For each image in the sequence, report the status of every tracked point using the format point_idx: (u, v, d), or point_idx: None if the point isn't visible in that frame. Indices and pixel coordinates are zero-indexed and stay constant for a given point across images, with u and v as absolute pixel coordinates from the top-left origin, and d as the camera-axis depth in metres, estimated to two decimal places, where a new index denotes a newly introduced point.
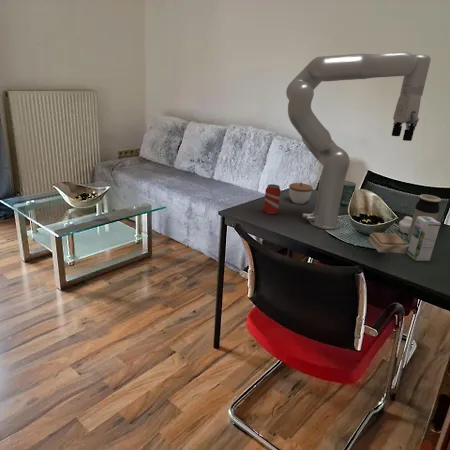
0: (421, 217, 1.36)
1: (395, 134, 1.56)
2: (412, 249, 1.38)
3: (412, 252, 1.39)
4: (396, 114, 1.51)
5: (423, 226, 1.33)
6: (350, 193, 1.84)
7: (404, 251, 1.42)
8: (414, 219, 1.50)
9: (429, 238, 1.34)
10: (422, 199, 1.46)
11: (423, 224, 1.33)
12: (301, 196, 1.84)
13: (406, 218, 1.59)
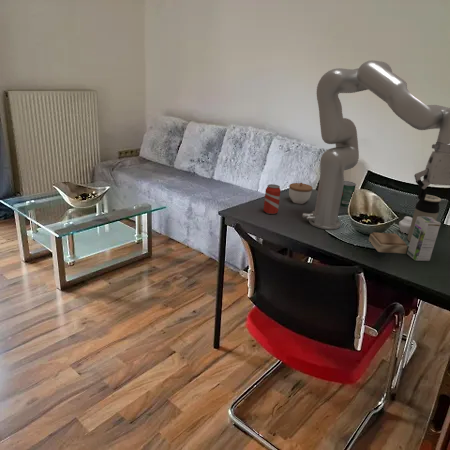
0: (421, 217, 1.36)
1: None
2: (412, 249, 1.38)
3: (412, 252, 1.39)
4: (439, 177, 1.26)
5: (423, 226, 1.33)
6: (350, 193, 1.84)
7: (404, 251, 1.42)
8: (414, 219, 1.50)
9: (429, 238, 1.34)
10: None
11: (423, 224, 1.33)
12: (301, 196, 1.84)
13: (406, 218, 1.59)
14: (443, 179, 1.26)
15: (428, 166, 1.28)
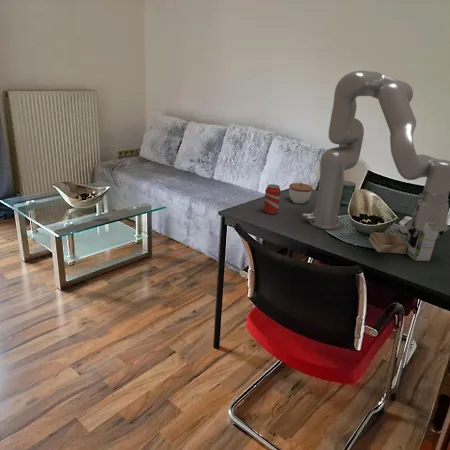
0: None
1: None
2: (412, 249, 1.38)
3: (412, 252, 1.39)
4: None
5: (424, 226, 1.33)
6: (350, 193, 1.84)
7: (404, 251, 1.42)
8: None
9: (429, 238, 1.34)
10: None
11: None
12: (301, 196, 1.84)
13: (406, 218, 1.59)
14: None
15: (415, 213, 1.34)
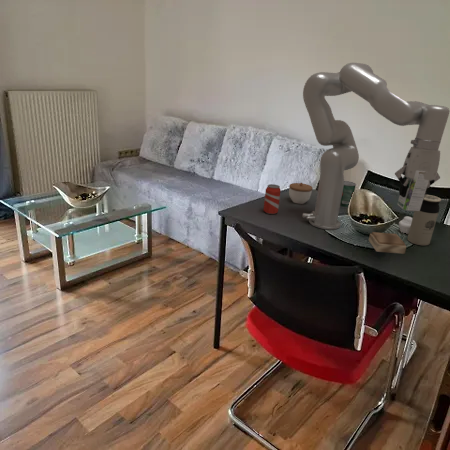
0: None
1: None
2: (403, 199, 1.37)
3: (402, 202, 1.37)
4: None
5: None
6: (350, 193, 1.84)
7: (403, 251, 1.42)
8: (414, 219, 1.50)
9: (419, 187, 1.33)
10: None
11: None
12: (302, 196, 1.84)
13: (406, 218, 1.59)
14: None
15: (406, 161, 1.32)
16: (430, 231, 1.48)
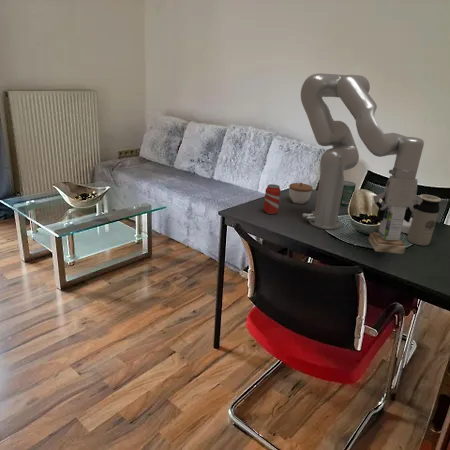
0: None
1: None
2: (382, 229, 1.44)
3: (382, 233, 1.45)
4: (395, 200, 1.37)
5: (391, 207, 1.39)
6: (350, 193, 1.84)
7: (402, 252, 1.42)
8: (414, 219, 1.50)
9: (397, 218, 1.40)
10: (422, 199, 1.46)
11: None
12: (301, 196, 1.84)
13: None
14: (399, 202, 1.38)
15: (386, 189, 1.39)
16: (430, 231, 1.48)
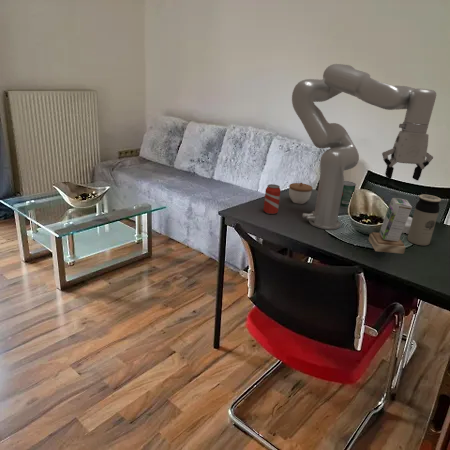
0: (396, 199, 1.40)
1: None
2: (383, 228, 1.44)
3: (382, 231, 1.44)
4: (405, 155, 1.32)
5: (394, 208, 1.37)
6: (350, 193, 1.84)
7: (402, 252, 1.42)
8: (414, 219, 1.50)
9: (399, 220, 1.39)
10: (422, 199, 1.46)
11: (394, 205, 1.37)
12: (301, 196, 1.84)
13: None
14: (409, 158, 1.32)
15: (395, 145, 1.33)
16: (430, 231, 1.48)
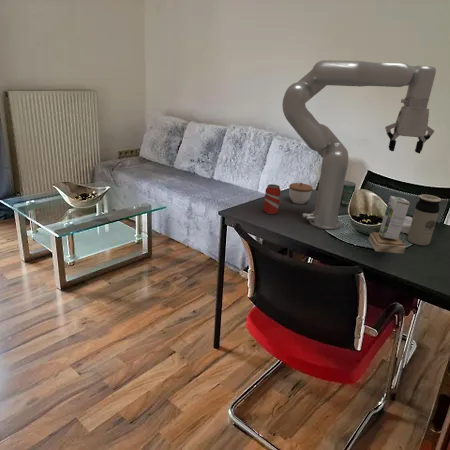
0: None
1: None
2: (382, 226, 1.45)
3: (382, 230, 1.45)
4: (406, 129, 1.41)
5: (392, 203, 1.40)
6: (350, 193, 1.84)
7: (402, 252, 1.42)
8: (414, 219, 1.50)
9: (397, 216, 1.41)
10: (422, 199, 1.46)
11: (392, 201, 1.40)
12: (301, 196, 1.84)
13: (406, 218, 1.59)
14: (410, 131, 1.41)
15: (397, 119, 1.42)
16: (430, 231, 1.48)
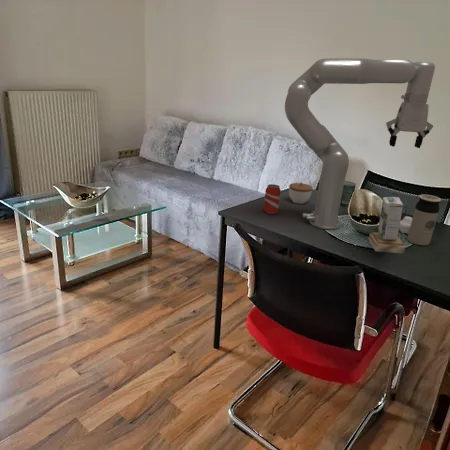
0: (386, 198, 1.41)
1: None
2: (380, 228, 1.44)
3: (380, 231, 1.45)
4: (407, 124, 1.44)
5: (385, 208, 1.38)
6: (350, 193, 1.84)
7: (402, 251, 1.42)
8: (414, 219, 1.50)
9: (393, 219, 1.39)
10: (422, 199, 1.46)
11: (385, 205, 1.38)
12: (301, 196, 1.84)
13: (406, 218, 1.59)
14: (411, 126, 1.44)
15: (398, 115, 1.45)
16: (430, 231, 1.48)
